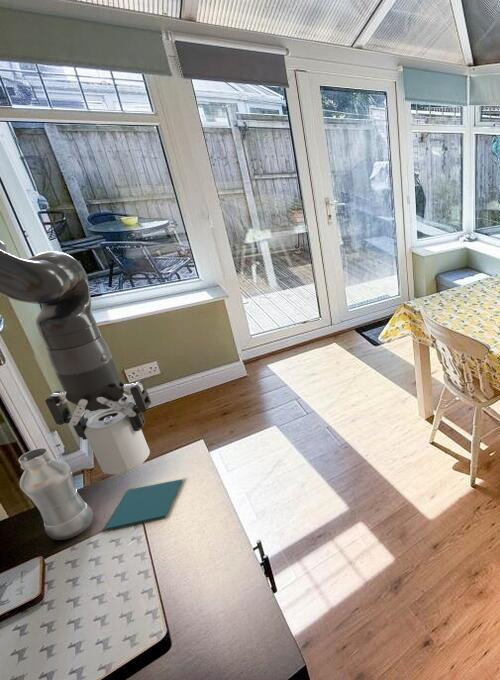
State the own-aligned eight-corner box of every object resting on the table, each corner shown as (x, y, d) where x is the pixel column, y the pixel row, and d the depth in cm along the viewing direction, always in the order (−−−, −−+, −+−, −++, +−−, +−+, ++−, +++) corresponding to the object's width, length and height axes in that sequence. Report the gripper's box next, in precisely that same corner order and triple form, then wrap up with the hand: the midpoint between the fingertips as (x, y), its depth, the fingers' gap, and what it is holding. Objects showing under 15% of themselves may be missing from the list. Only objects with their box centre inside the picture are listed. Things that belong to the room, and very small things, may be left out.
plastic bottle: (60, 522, 85) (18, 447, 77) (103, 511, 87) (66, 438, 79) (43, 550, 80) (-4, 472, 72) (89, 538, 82) (47, 462, 74)
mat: (106, 530, 84) (105, 528, 83) (129, 491, 92) (128, 489, 92) (165, 517, 87) (164, 515, 87) (182, 481, 95) (181, 479, 95)
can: (148, 444, 89) (130, 399, 85) (153, 464, 84) (134, 417, 80) (102, 462, 84) (80, 415, 80) (104, 484, 80) (81, 435, 75)
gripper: (140, 346, 80) (165, 414, 87) (45, 356, 76) (79, 427, 82) (122, 366, 74) (150, 438, 80) (17, 379, 69) (56, 453, 76)
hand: (114, 432), depth 81 cm, fingers closed on can, 7 cm apart
